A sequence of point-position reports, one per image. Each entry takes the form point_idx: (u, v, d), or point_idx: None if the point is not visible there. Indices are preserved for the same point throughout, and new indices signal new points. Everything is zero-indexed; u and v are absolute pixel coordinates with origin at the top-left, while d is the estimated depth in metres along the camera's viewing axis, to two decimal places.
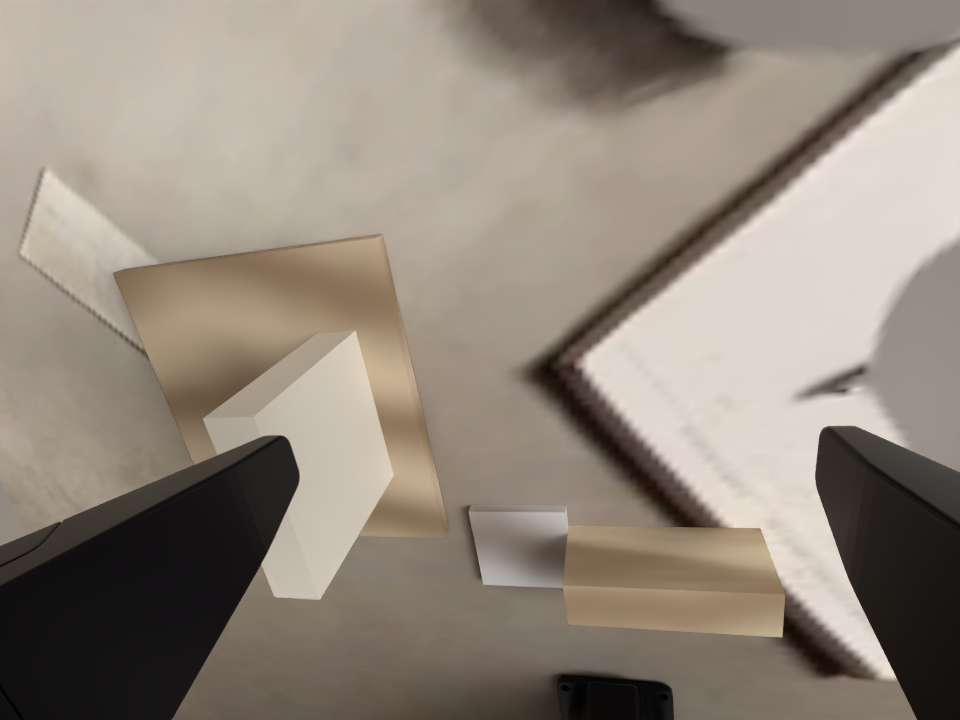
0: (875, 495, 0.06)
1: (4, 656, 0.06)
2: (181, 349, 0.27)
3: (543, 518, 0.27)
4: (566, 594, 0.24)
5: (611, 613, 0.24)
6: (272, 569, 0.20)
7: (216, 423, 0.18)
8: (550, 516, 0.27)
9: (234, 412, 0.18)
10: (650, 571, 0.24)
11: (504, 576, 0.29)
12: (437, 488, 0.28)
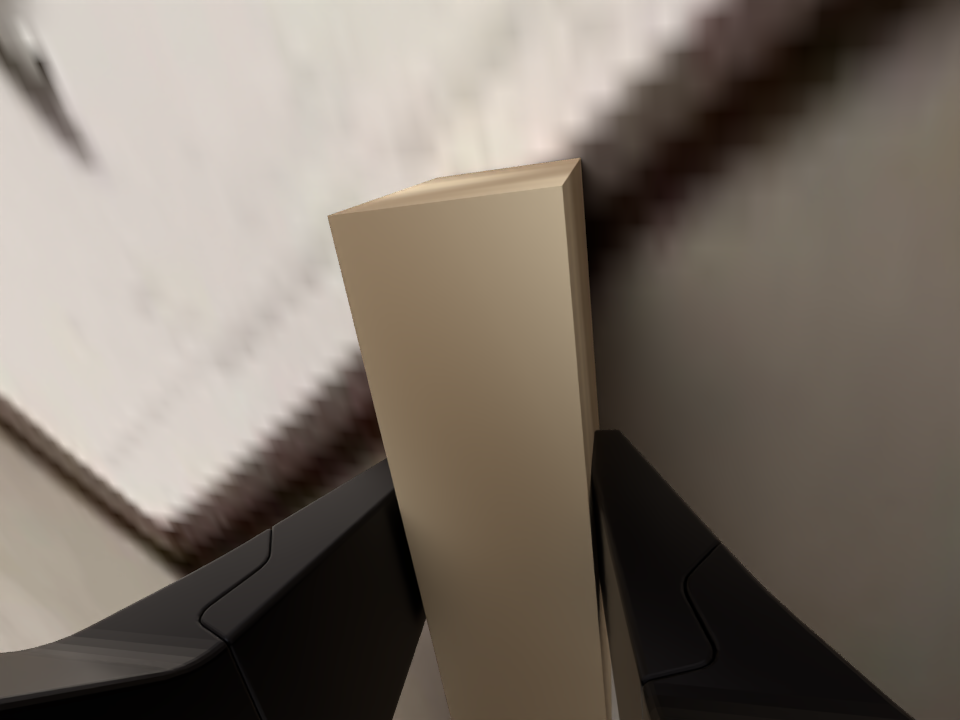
0: (593, 492, 0.07)
1: (266, 686, 0.05)
2: None
3: None
4: None
5: (546, 693, 0.08)
6: None
7: None
8: None
9: None
10: None
11: None
12: None
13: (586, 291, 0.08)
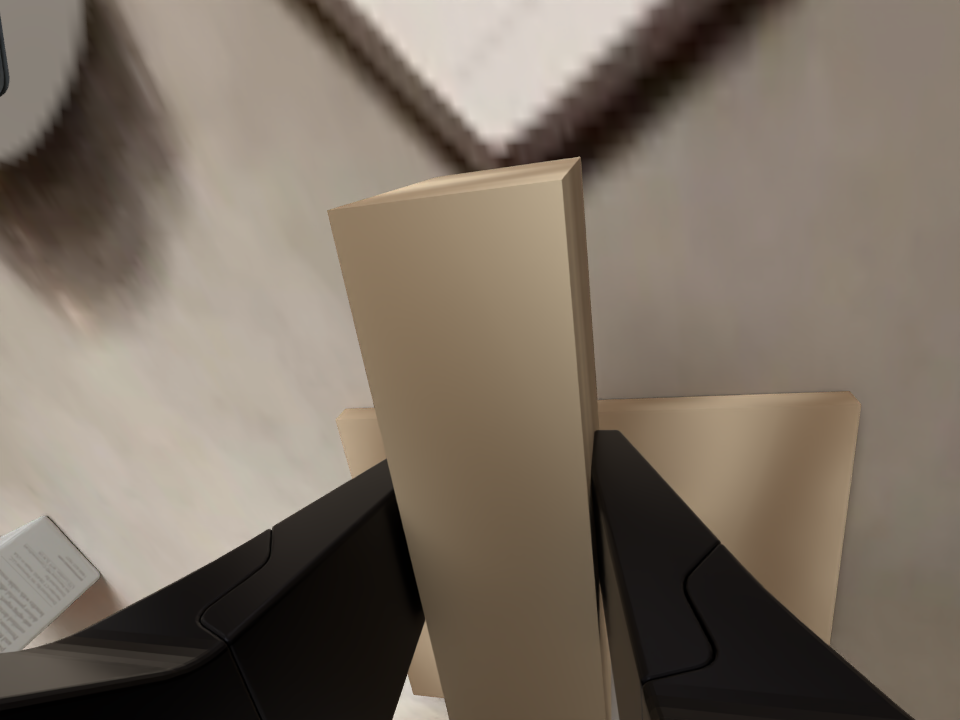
0: (593, 492, 0.07)
1: (267, 686, 0.05)
2: None
3: None
4: None
5: (545, 694, 0.08)
6: None
7: None
8: None
9: None
10: None
11: None
12: (744, 400, 0.16)
13: (586, 290, 0.08)
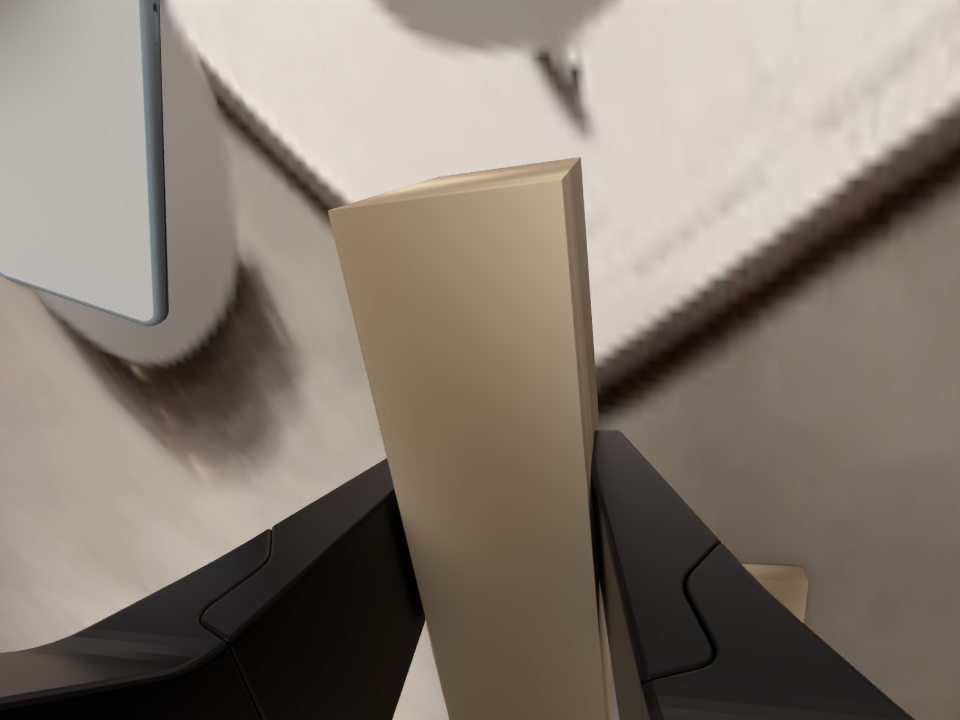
0: (592, 492, 0.07)
1: (267, 686, 0.05)
2: None
3: None
4: None
5: (545, 693, 0.08)
6: None
7: None
8: None
9: None
10: None
11: None
12: None
13: (586, 289, 0.08)
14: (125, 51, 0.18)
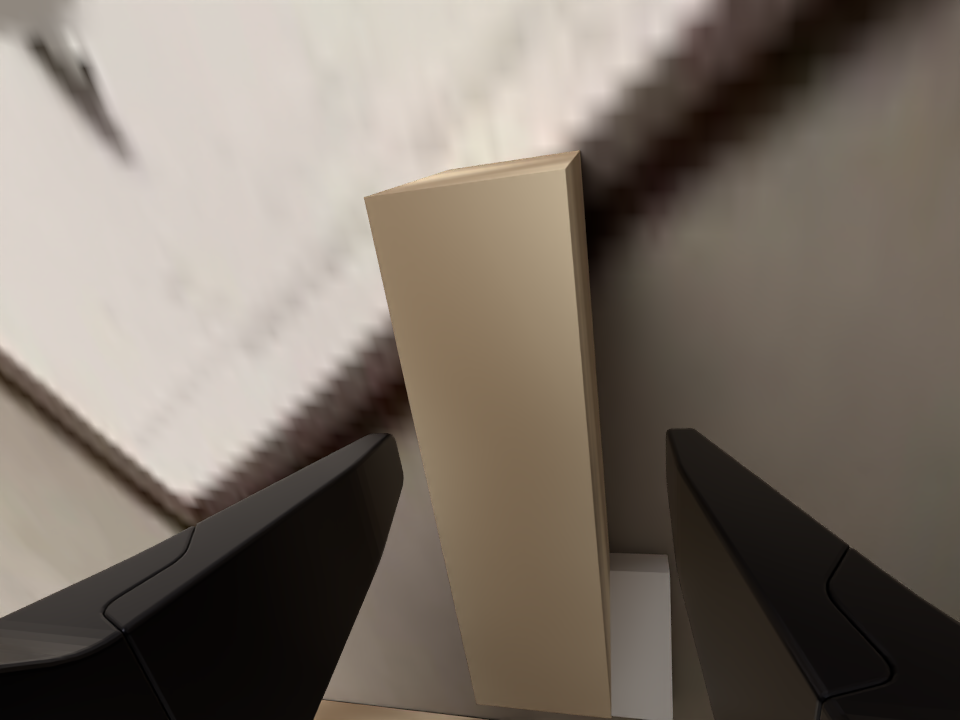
0: (681, 493, 0.07)
1: (169, 674, 0.05)
2: None
3: None
4: (505, 702, 0.10)
5: (551, 628, 0.09)
6: None
7: None
8: None
9: None
10: None
11: (644, 685, 0.14)
12: None
13: (586, 270, 0.09)
14: None
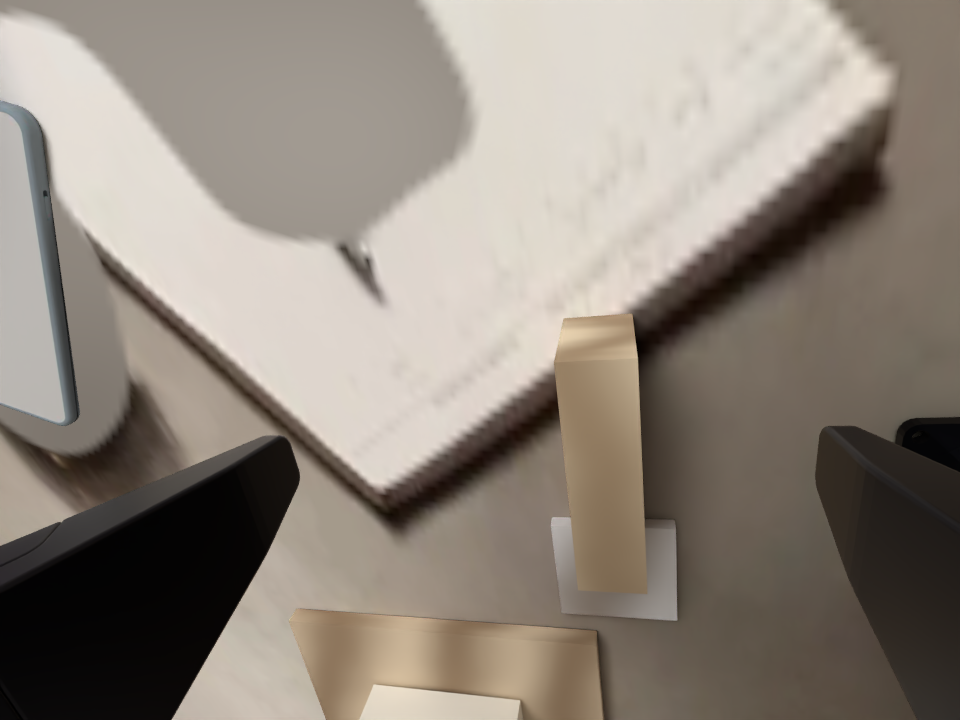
0: (875, 495, 0.06)
1: (3, 656, 0.06)
2: None
3: (562, 547, 0.23)
4: (593, 588, 0.19)
5: (620, 547, 0.18)
6: None
7: None
8: (559, 539, 0.23)
9: None
10: None
11: (660, 597, 0.23)
12: (536, 632, 0.26)
13: None
14: (23, 225, 0.22)
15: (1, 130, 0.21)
